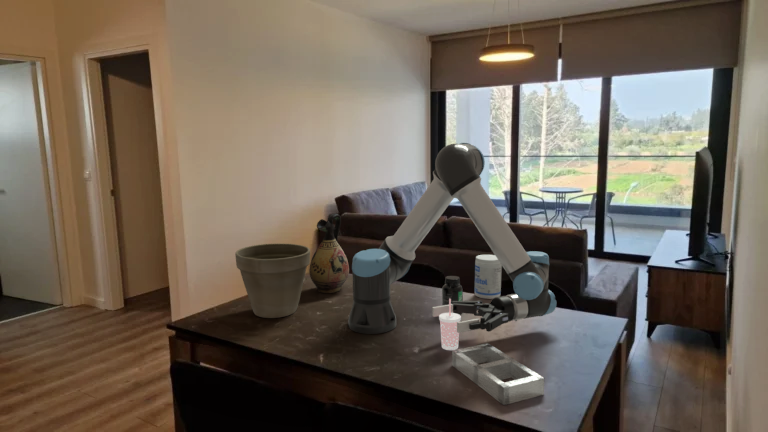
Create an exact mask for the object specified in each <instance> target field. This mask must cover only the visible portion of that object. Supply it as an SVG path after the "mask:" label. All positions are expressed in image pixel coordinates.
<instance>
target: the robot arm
mask: <svg viewBox="0 0 768 432" xmlns="http://www.w3.org/2000/svg"><path fill="white" fill-rule="evenodd" d="M434 162H435V163H434V164H435V165H434V166H435V169H434V170H433V171H432V175H433V180H431V183H430V184H429V185H428V187H427V188H426V190H425V191H424V192H423V194H422V195H421V197H420V198H419V199H418V201H417V202H416V203H415V205H414V206H413V208H412V209H411V211H410V212H409V213H408V215H407V216H406V218H405V219H404V220H403V221H402V223H401V225H399V228H397V231H395V233H394V235H390V236H386V238H385V239H384V240H383V241H382V243H381V245H380V246H379V247H378V248H369V249H366V250H364V249H363V250H360V251H359V252H357V253H355V254H353V255H354V256H353V258H352V264H351V270H352V272H351V273H352V295H353V296H352V297H353V299H352V306H351V310H350V313H349V316H348V319H347V320H348V321H347V322H348V328H349V329H350V330H351V331H353V332H355V333H358V334H365V335H374V334H375V335H377V334H383V333H387V332H390V331H392V330H394V329H395V328H396V327H397V316H396V313H395V310H394V308H393V305H392V302H391V301H392V300H391V285H392V284H393V283H395V282H396V281H398V280H400V279H402V278H404V277H405V275H406V274H407V273H408V272H409V270H410V267H411V265H412V263H413V262H414V260H415V258H416V252H415V251H416V250H417V248H418V247H419V246H420V245H421V243H422V241H423V240H424V239H425V238H426V236H427V235H428V234H429V232H430V231H431V229H432V228H433V227H434V226H435V224H436V223H437V221H438V220H439V219H440V218H441V216H442V215H443V214H444V212H445V211H446V209H447V208H448V207H449V205H450V203H451V204H452V201H453V200H454V199H457V200H458V202H459V203H460V205H461V206H462V208H463V209H464V211H465V213H467V215H468V217H469V219H470V220H471V221H472V222H473V224H474V225H475V227H476V229H477V230H478V232H479V233H480V235H481V236H482V238H483V239H484V240H485V242H486V243H487V245H488V246H489V248H490V250H491V252H492V253H493V255H495V256H496V257H497V259H498V260H499V262H500V263H501V265H502V269H504V270H505V272H506V274H507V275H508V277H509V278H510V280H511V281H512V286H513V291H514V293H511V294H507V295H500V296H499V297H495V298H493V299H491V301H490V303H488V302H487V303H486V302H483V300H481V299H480V300H463V301H451V313H453V312H457V313H461V314H470V315H474V316H475V317H480V318H472V319H469V320H467V319H466V320H462V321H461V320H460V322H457V332H458V333H459V334H461V333H466V332H471V331H476V330H484V331H486V332H488V333H489V332H492V331H493V330H495V329H497V328H499V327H500V326H501V325H503V324H507V323H509V322H511V321H512V322H518V321H519V320H524V319H529V318H530V319H531V318H536V317H543V316H546V315H549V314H552V313H553V312H554V311H555V310H556V308H557V300H556V296H555V294H554V292H552V290H550V289H549V278H550V277H549V273H550V257H549V255H548V253H546V252H543V251H535V250H534V251H533V250H532V251H531V250H530V251H527V250H525V249H524V247H523V245H522V243H520V241H519V239H518V238H517V236H516V234H515V233H514V232H513V230H512V229H511V227H510V226H509V224H508V223H507V221H506V220H505V218H504V217H503V215H502V214H501V212H500V210H498V208H497V206H496V205H495V204H494V202H493V201H492V199H491V197H490V196H489V194H488V193H487V191H486V190H485V189H484V187H483V185H482V184H481V183H482V182H481V181H482V178H481V175H482V173H483V171H484V169H485V157H484V153H483V152H482V151H481V149H479V147H477V146H476V145H474V144H472V143H469V142H461V143H450V144H448V145H445V146H444V147H443V148H441V150H439V152H438V153H437V156H436V158H435V161H434ZM431 308H432V309H431V311H432V312H431V313H432V315H431V316H432V317H433V318H436V317H439V315H440V314H442V313H449V305H443V306H442V305H437V306H432V307H431Z"/></svg>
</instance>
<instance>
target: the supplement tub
mask: <svg viewBox="0 0 768 432" xmlns="http://www.w3.org/2000/svg"><path fill="white" fill-rule="evenodd" d="M502 269H503V266H502V265H501V263H500V262H499V260H498V259H497V257H496V256H495V254H480V255H479V254H478V255H476V256H475V261H474V295H475V297H478V298H481V299H484V300H485V299H486V300H487V299H488V300H492V299H493V298H495V297H500V296H502V295H501V292H502V289H501V288H502Z"/></svg>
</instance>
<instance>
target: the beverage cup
mask: <svg viewBox="0 0 768 432" xmlns="http://www.w3.org/2000/svg"><path fill="white" fill-rule="evenodd" d="M438 320H439V323H440V340H441V348H442V349H443V350H446V351H452V350H457V349H458V348H459V341H460V339H459V338H460V333H458V332H457V322H461V320H462V316H461V314H456V313H451V299H449V313H442V314H440V315H439V316H438Z"/></svg>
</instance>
